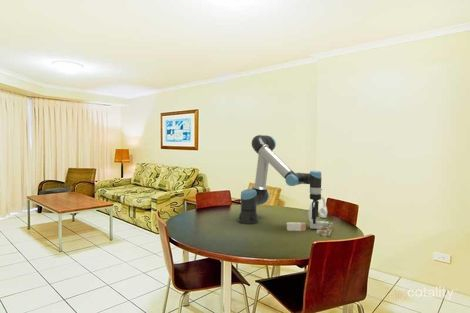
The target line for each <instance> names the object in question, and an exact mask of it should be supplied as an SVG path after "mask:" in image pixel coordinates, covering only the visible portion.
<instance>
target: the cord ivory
mask: <svg viewBox="0 0 470 313" xmlns="http://www.w3.org/2000/svg"><path fill="white" fill-rule="evenodd" d="M306 226H307V224H306V223H305V222H304V221H303V222H301V221H299V222H295V221H294V222H293V221H292V222H291V221H287V222H286V230H287V231H290V232H291V231H292V232H294V231H296V232H299V231H300V232H306V230H307V227H306Z"/></svg>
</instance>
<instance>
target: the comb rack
mask: <svg viewBox="0 0 470 313" xmlns="http://www.w3.org/2000/svg"><path fill="white" fill-rule="evenodd" d="M333 230H334V222H332V221H331V222H329V226H328V227H322V226H319V229H316V236H320V235H321V236H323V237H328V238H329V237H330V236H331V234H332V232H333Z"/></svg>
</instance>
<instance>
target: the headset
mask: <svg viewBox="0 0 470 313" xmlns="http://www.w3.org/2000/svg"><path fill="white" fill-rule="evenodd" d="M321 200H322V203H323V206H322V207H320V208H319V209H318V214H319V218H320V217H322V218H321V219H325V218H327V216H328V207H327V203H326V199H325V198H324V197H323V196H321ZM312 202H313V200H312V199H311V200H310V204H309V209H308V213H307V217H308V222H309V223H310V221H311V220H312V219H311V218H312Z"/></svg>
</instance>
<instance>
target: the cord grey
mask: <svg viewBox="0 0 470 313" xmlns="http://www.w3.org/2000/svg"><path fill="white" fill-rule="evenodd" d="M329 224H330V221H325V220H318V221H317V226H316V229H315V230H319V226H322V227H328V226H329ZM309 229H314V228H312V220H311V221H310V222H309Z"/></svg>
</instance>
